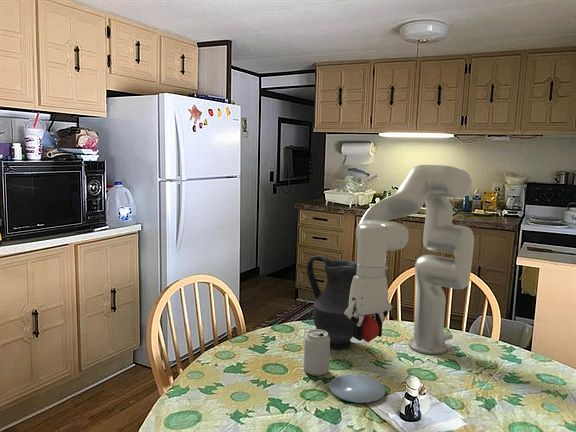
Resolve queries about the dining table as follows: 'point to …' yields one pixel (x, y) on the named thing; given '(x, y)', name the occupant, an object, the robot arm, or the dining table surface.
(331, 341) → the pitcher
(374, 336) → the onion
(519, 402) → the dining table surface
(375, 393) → the plate
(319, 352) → the can
